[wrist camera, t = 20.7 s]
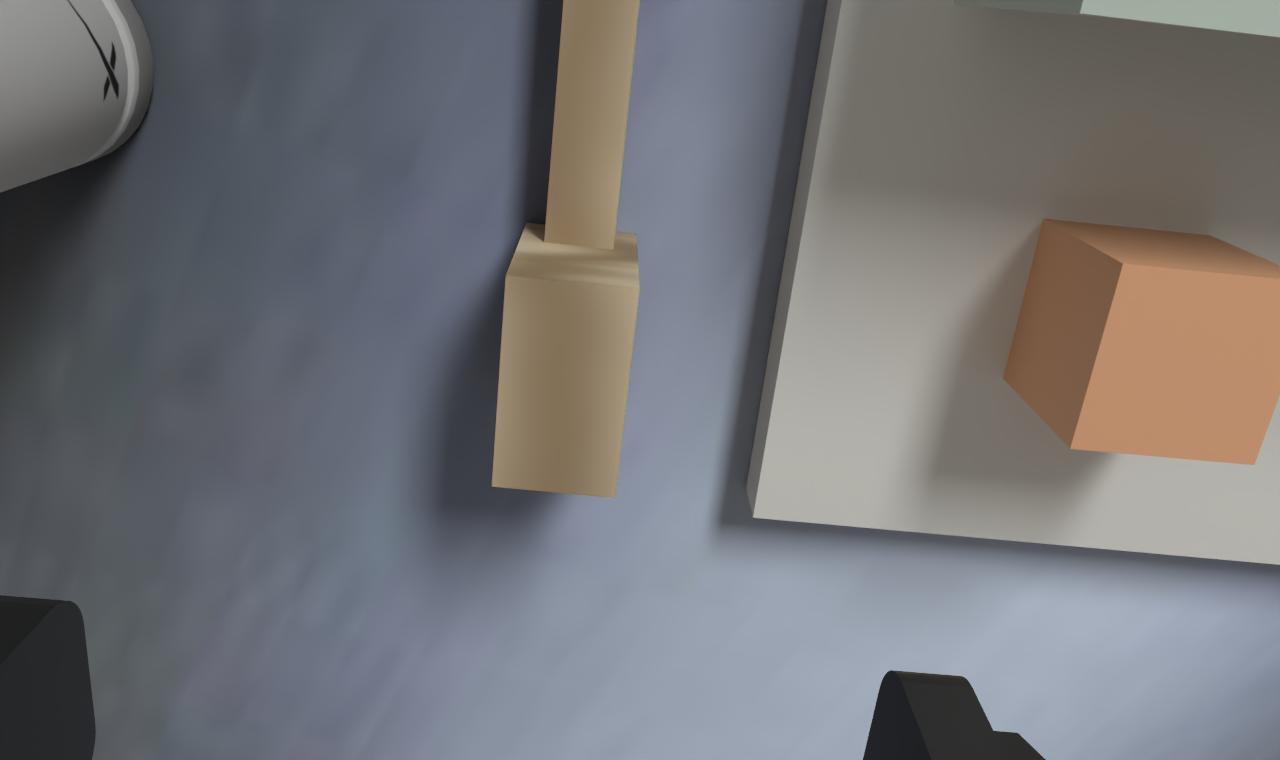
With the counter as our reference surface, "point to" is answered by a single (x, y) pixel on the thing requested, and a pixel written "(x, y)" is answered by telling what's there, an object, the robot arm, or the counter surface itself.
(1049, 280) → the cube
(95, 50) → the travel mug
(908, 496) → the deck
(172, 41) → the counter surface
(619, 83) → the crook
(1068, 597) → the counter surface
